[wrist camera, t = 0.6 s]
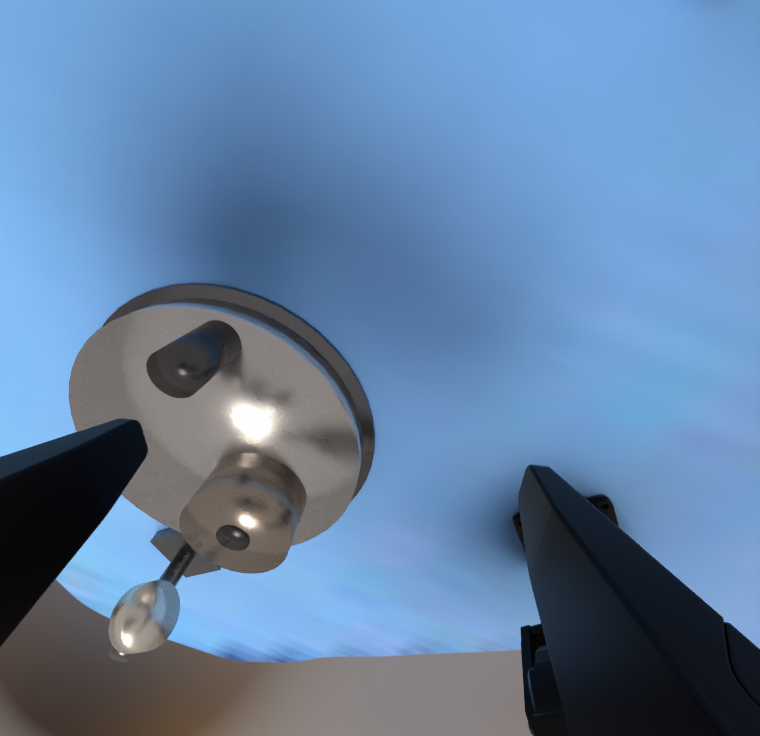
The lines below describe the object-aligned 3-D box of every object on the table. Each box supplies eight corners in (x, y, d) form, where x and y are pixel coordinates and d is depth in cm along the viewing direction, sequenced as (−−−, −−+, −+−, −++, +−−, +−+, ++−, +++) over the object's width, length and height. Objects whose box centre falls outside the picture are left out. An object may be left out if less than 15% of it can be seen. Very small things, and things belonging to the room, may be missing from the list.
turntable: (407, 497, 25) (402, 578, 20) (205, 546, 31) (159, 621, 25) (267, 242, 18) (202, 261, 13) (38, 362, 24) (-75, 411, 18)
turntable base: (420, 496, 26) (420, 499, 25) (207, 548, 31) (205, 551, 31) (274, 222, 18) (272, 222, 18) (31, 354, 24) (26, 356, 24)
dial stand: (236, 556, 31) (172, 680, 23) (192, 566, 33) (117, 686, 25) (196, 510, 29) (109, 629, 21) (150, 523, 31) (54, 639, 23)
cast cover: (324, 513, 24) (307, 565, 21) (247, 532, 26) (221, 582, 23) (273, 441, 22) (246, 485, 18) (193, 467, 24) (155, 512, 20)
